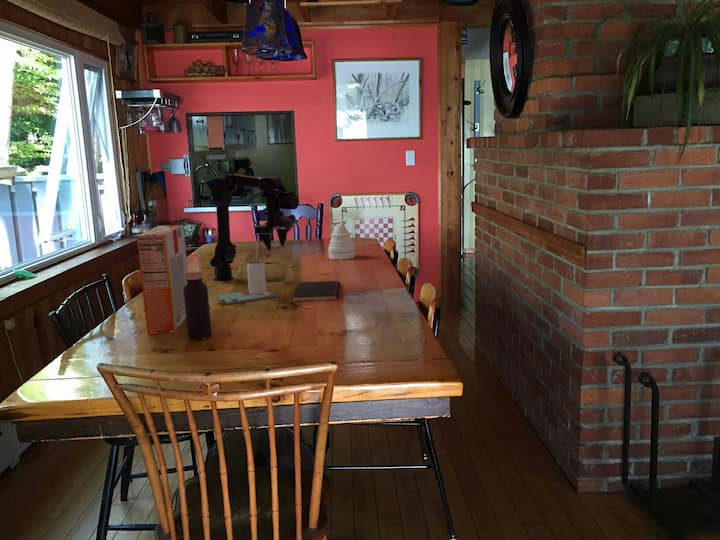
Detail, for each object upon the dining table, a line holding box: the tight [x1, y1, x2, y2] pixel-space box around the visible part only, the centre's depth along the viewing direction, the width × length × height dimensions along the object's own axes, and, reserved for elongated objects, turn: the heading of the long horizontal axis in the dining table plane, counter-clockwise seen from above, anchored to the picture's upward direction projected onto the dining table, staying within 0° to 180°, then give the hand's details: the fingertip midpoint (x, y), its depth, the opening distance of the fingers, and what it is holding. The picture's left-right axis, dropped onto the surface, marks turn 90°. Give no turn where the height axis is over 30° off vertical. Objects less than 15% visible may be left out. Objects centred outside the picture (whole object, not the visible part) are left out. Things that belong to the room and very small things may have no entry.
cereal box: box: [136, 224, 189, 334], centre depth 191 cm, size 23×8×30 cm, turn 2°
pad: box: [217, 291, 245, 302], centre depth 224 cm, size 9×9×1 cm
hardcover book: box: [291, 280, 341, 302], centre depth 225 cm, size 16×23×2 cm
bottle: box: [183, 268, 213, 340], centre depth 175 cm, size 7×7×20 cm
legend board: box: [223, 290, 277, 305], centre depth 219 cm, size 18×6×1 cm, turn 116°
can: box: [246, 260, 267, 295], centre depth 227 cm, size 6×6×12 cm
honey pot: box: [327, 220, 356, 260], centre depth 292 cm, size 13×13×18 cm
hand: (276, 248), depth 239 cm, fingers open, 9 cm apart
